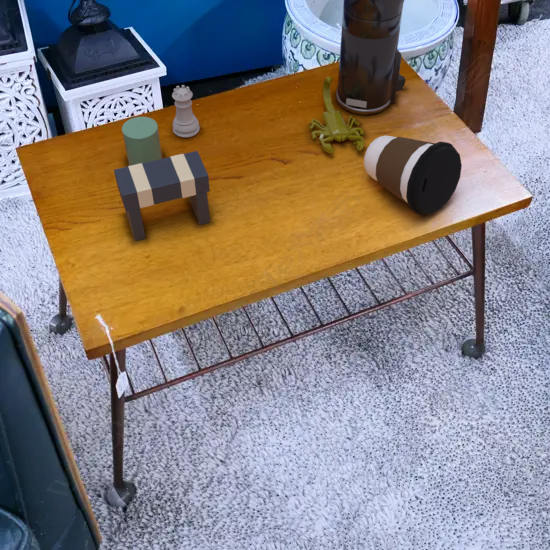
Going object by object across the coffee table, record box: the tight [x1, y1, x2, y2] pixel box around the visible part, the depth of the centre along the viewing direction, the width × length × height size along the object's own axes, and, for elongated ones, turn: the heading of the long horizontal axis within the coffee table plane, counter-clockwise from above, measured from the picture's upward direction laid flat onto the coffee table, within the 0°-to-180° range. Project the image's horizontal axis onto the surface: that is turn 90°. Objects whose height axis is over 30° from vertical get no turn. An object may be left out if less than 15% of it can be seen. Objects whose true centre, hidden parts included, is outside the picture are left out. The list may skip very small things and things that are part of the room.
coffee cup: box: [363, 135, 463, 216], centre depth 111 cm, size 11×11×12 cm
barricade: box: [113, 150, 211, 242], centre depth 107 cm, size 12×6×9 cm, turn 110°
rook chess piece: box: [171, 84, 201, 139], centre depth 121 cm, size 4×4×8 cm
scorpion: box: [308, 76, 365, 154], centre depth 122 cm, size 9×15×6 cm, turn 11°
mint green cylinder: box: [121, 116, 163, 166], centre depth 116 cm, size 5×5×6 cm
